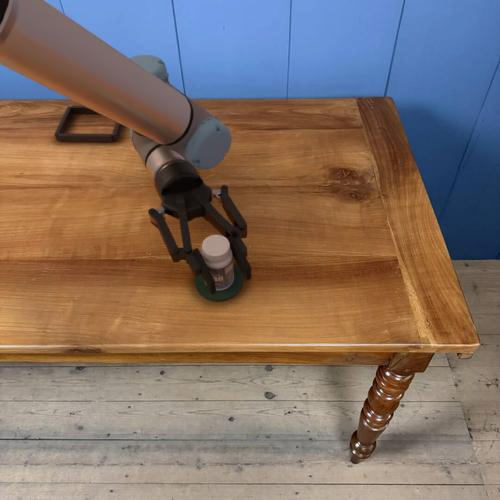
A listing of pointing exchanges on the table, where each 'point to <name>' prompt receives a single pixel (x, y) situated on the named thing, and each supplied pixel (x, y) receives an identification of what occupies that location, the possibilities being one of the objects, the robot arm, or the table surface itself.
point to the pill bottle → (219, 260)
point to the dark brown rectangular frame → (83, 137)
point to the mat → (220, 294)
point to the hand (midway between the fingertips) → (231, 280)
